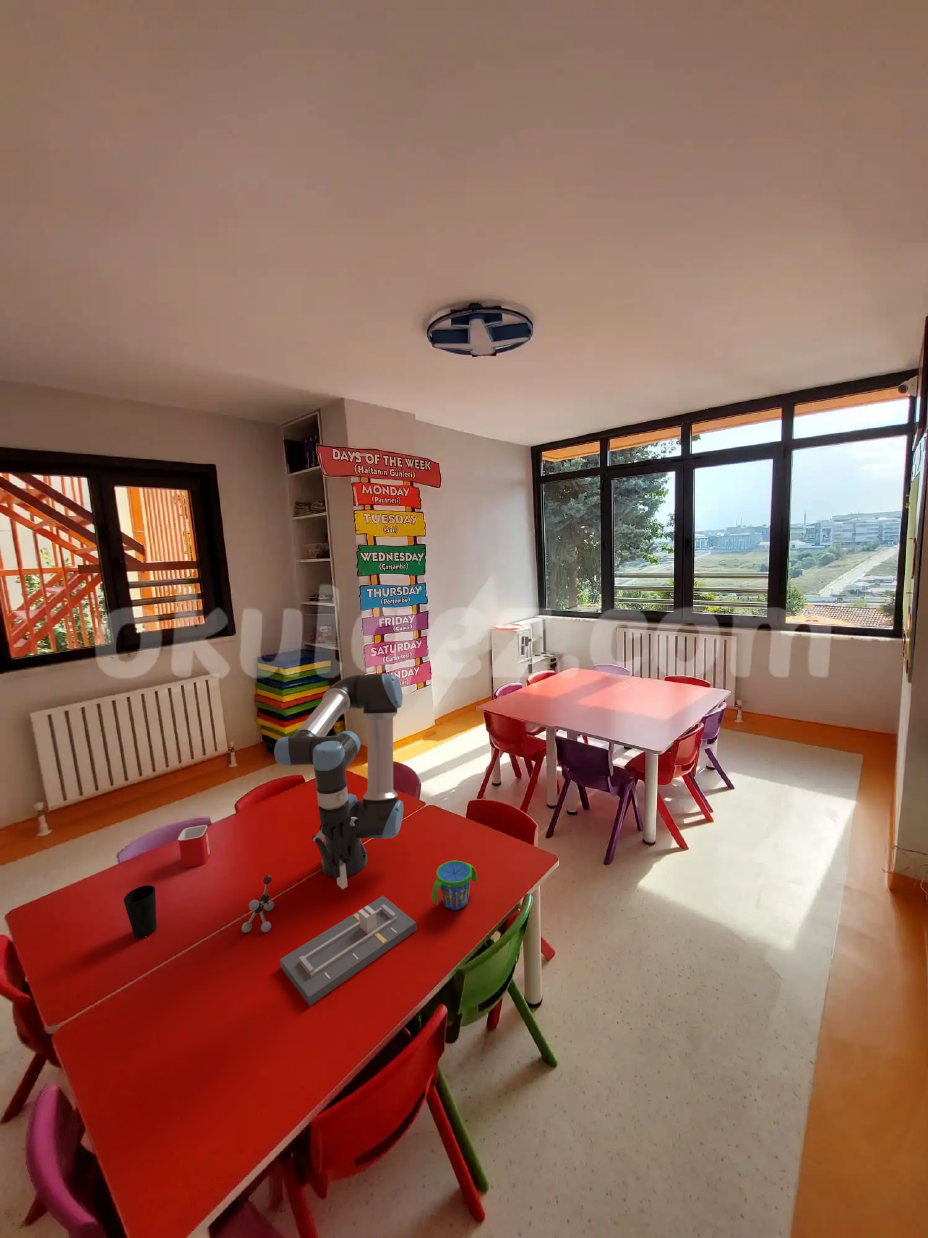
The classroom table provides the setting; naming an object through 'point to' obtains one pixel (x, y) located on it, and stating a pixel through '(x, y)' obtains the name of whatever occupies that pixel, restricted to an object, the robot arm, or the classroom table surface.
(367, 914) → the fader tab
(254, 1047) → the classroom table surface
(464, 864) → the snack cup
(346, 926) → the panel
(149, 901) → the cup
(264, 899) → the molecular model
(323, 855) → the robot arm
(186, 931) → the classroom table surface
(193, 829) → the mug
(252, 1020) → the classroom table surface
